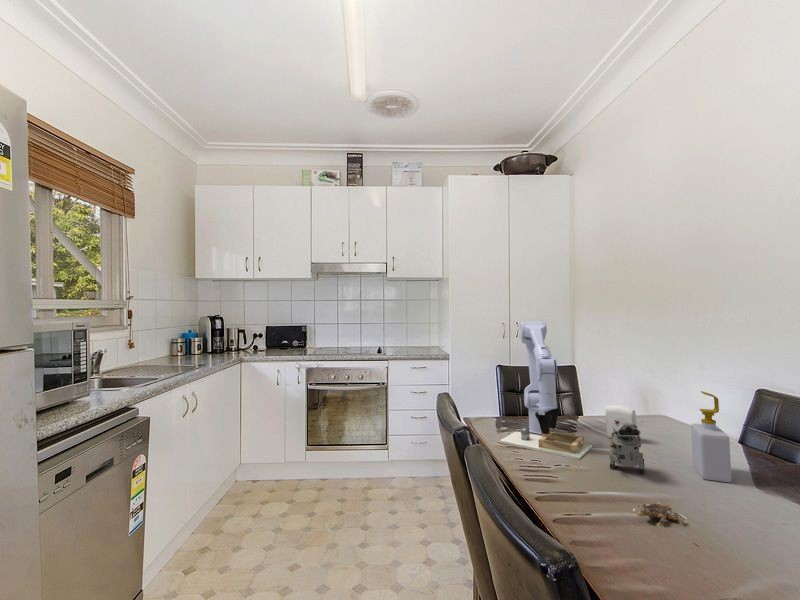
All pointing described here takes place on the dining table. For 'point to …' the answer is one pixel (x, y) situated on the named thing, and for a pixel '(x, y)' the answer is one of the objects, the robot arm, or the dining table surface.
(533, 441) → the board
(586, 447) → the mat
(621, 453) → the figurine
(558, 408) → the robot arm
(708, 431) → the soap bottle
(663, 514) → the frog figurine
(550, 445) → the wooden square frame
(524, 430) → the peg
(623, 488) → the dining table surface
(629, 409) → the photo printer
